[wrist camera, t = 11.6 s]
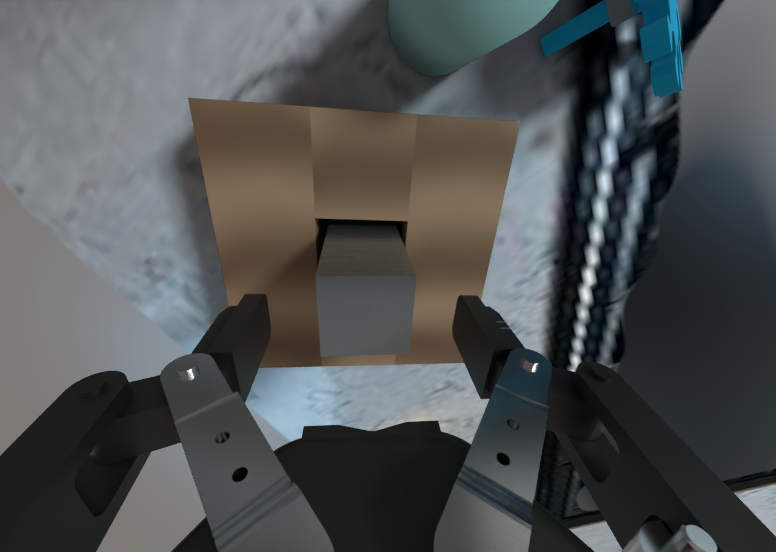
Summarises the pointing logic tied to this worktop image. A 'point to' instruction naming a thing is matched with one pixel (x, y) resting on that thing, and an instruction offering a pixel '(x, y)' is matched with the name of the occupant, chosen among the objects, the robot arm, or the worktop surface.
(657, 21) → the gear
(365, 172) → the socket block
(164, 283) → the worktop surface
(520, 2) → the round peg
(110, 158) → the worktop surface
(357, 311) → the square peg
